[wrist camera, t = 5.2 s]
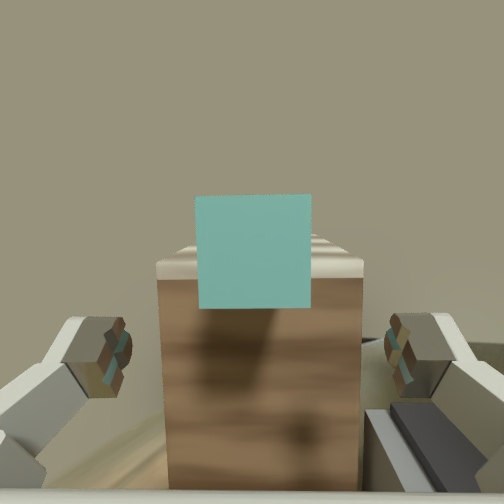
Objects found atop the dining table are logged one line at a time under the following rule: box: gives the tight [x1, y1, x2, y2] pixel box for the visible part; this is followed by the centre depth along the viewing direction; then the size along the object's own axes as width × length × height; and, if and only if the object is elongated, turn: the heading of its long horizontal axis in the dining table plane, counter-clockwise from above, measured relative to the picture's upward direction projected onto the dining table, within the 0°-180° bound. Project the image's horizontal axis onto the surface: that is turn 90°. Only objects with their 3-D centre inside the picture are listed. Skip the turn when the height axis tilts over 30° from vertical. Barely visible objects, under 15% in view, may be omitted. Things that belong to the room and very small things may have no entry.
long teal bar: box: [195, 194, 311, 309], centre depth 22 cm, size 24×4×4 cm, turn 178°
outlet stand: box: [156, 234, 364, 492], centre depth 30 cm, size 19×12×26 cm, turn 178°
